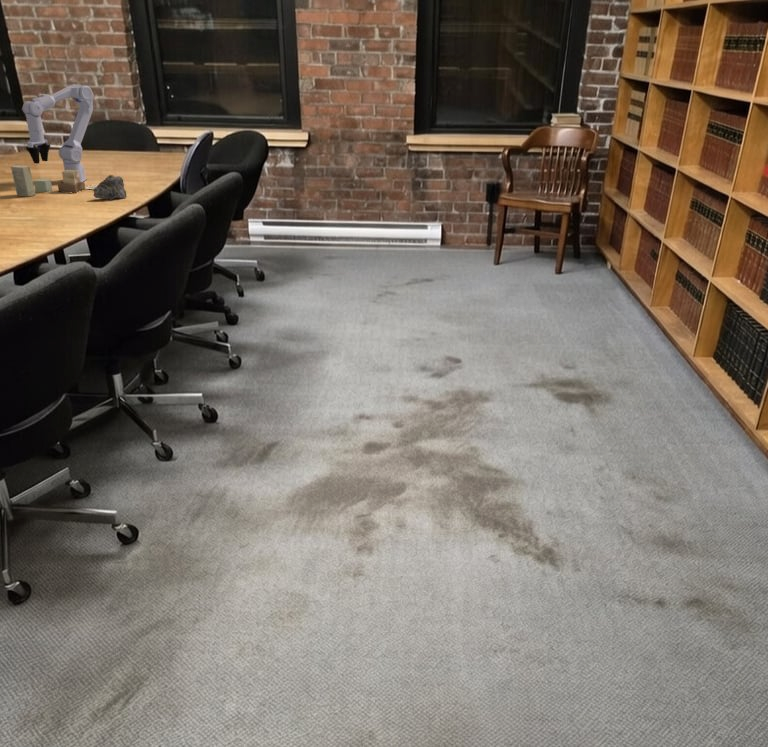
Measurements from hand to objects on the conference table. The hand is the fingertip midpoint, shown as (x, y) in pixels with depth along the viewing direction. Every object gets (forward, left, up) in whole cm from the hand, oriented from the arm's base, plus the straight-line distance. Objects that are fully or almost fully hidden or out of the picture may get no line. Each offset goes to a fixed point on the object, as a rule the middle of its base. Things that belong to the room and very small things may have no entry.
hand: (40, 162), depth 298 cm
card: (-1, +22, -10) cm, 25 cm away
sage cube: (+12, +5, -11) cm, 17 cm away
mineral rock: (+19, +38, -11) cm, 44 cm away
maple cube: (+8, +16, -7) cm, 19 cm away
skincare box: (+22, +2, -11) cm, 24 cm away
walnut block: (+8, +16, -11) cm, 21 cm away
